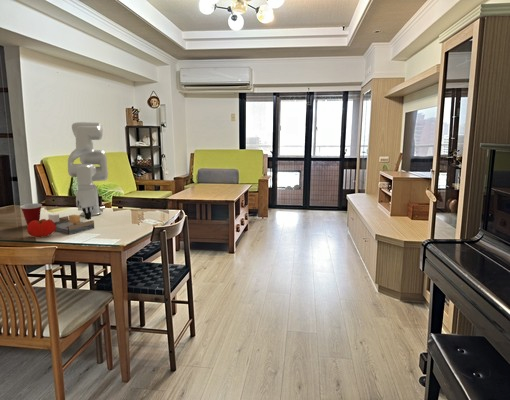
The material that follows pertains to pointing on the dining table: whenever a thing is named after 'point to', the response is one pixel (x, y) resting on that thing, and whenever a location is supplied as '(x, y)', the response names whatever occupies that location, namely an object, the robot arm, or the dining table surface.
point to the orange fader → (74, 219)
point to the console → (72, 226)
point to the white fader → (54, 217)
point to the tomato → (41, 228)
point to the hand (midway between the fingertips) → (88, 219)
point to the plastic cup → (31, 212)
